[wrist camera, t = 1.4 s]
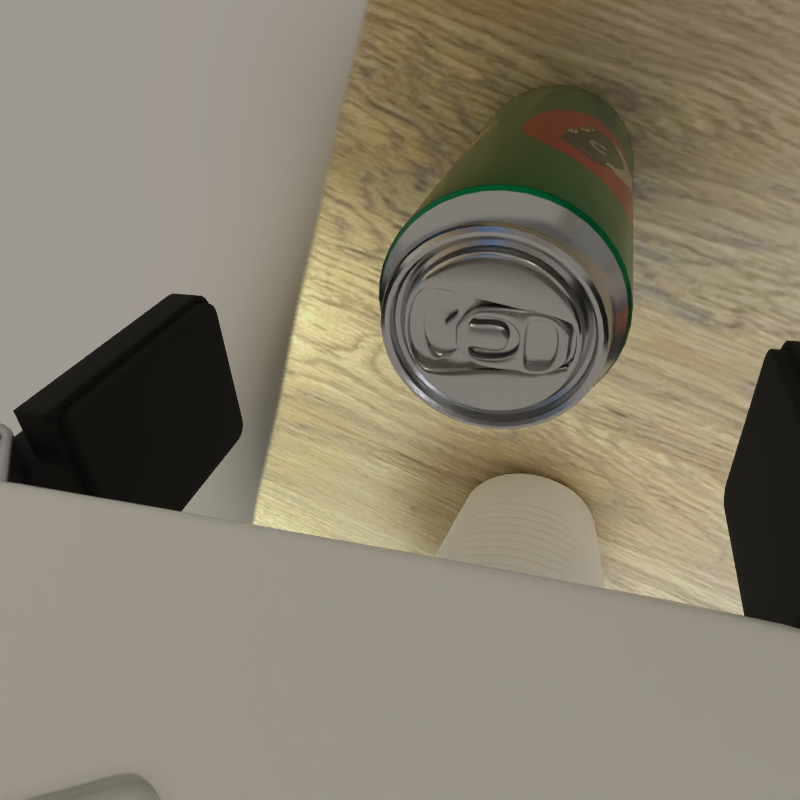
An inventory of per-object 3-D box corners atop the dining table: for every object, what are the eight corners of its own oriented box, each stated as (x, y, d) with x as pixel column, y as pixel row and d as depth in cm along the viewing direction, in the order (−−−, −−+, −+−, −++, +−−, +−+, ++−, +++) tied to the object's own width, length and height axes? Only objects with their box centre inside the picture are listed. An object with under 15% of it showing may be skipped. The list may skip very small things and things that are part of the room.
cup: (389, 490, 32) (301, 687, 24) (545, 397, 26) (502, 614, 18) (516, 608, 35) (477, 827, 26) (684, 547, 29) (706, 802, 20)
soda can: (480, 80, 20) (352, 194, 11) (646, 82, 19) (660, 213, 10) (475, 232, 23) (369, 425, 14) (618, 243, 22) (607, 463, 13)
